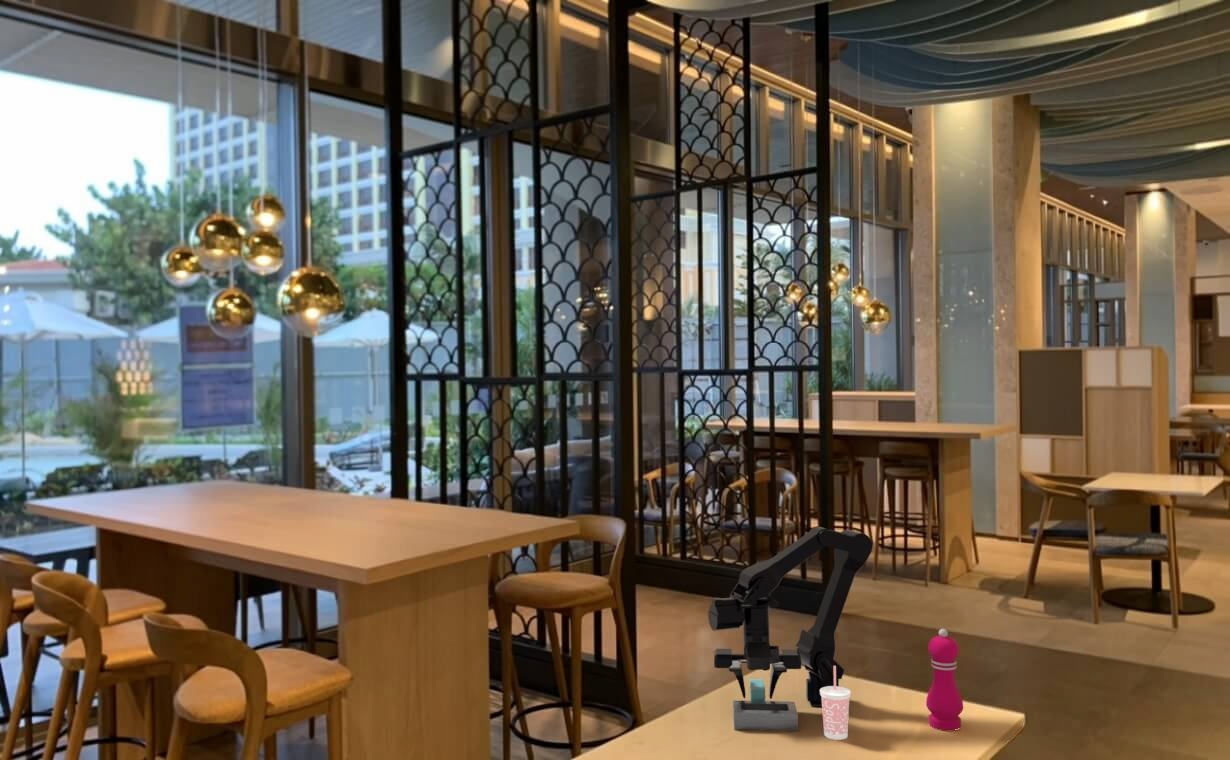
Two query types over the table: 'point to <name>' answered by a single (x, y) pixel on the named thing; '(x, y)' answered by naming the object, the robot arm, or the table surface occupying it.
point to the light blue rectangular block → (757, 690)
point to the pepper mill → (944, 684)
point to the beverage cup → (835, 710)
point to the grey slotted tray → (765, 715)
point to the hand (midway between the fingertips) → (757, 698)
